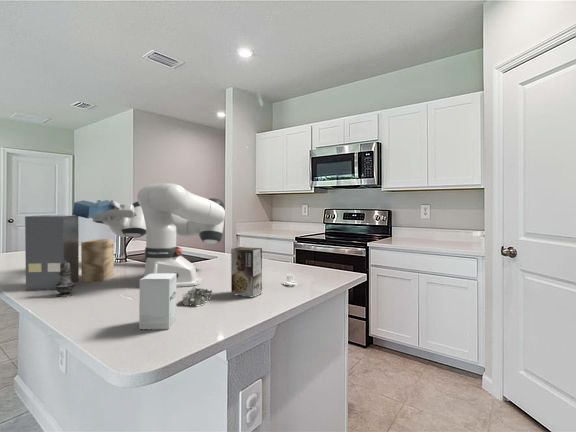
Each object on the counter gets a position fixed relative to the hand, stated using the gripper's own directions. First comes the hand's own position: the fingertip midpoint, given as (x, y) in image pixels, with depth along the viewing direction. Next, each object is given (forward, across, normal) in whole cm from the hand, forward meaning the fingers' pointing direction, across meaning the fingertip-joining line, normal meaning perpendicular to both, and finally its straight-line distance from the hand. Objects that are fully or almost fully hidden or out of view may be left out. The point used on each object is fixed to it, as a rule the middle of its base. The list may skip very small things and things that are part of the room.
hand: (105, 201), depth 143 cm
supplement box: (+42, -35, -61) cm, 82 cm away
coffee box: (+20, -59, -48) cm, 79 cm away
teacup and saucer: (+9, -74, -43) cm, 86 cm away
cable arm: (+2, +2, -6) cm, 7 cm away
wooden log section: (-9, 0, -32) cm, 33 cm away
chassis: (+2, +11, -38) cm, 39 cm away
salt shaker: (+14, +1, -45) cm, 47 cm away
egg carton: (+25, -43, -52) cm, 72 cm away
